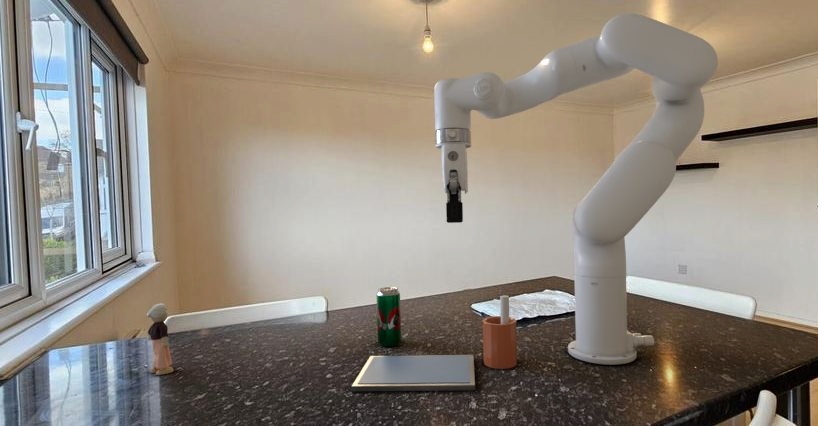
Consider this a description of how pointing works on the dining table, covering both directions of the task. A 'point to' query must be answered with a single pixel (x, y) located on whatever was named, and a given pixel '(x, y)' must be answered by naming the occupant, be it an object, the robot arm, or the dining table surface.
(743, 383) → the dining table surface
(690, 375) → the dining table surface
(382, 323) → the soda can
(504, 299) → the stylus
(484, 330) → the pen cup
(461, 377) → the tablet
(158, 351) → the grandmother figurine
